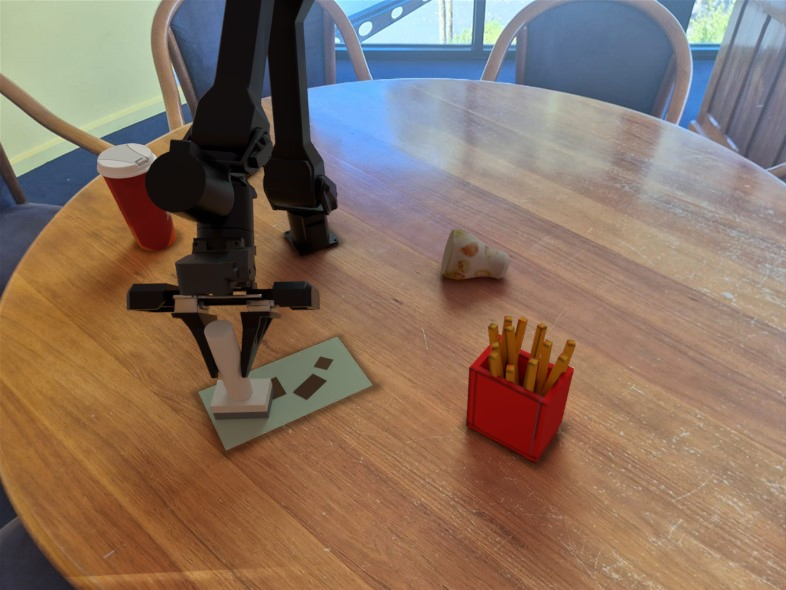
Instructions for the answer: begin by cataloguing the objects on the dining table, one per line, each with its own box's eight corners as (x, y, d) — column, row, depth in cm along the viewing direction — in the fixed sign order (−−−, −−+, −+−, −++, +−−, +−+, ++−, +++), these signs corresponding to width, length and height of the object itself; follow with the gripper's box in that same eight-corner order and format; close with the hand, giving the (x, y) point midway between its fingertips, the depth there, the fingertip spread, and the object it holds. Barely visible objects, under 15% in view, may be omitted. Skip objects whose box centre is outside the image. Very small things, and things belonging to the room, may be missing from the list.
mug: (514, 291, 89) (485, 249, 82) (455, 304, 93) (422, 265, 86) (517, 251, 93) (489, 207, 85) (459, 265, 97) (428, 224, 90)
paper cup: (195, 233, 96) (166, 149, 86) (158, 260, 91) (123, 174, 81) (156, 220, 98) (123, 136, 88) (118, 245, 93) (79, 160, 83)
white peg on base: (215, 419, 71) (183, 343, 62) (222, 392, 73) (192, 315, 64) (269, 418, 71) (244, 342, 62) (274, 391, 74) (251, 314, 65)
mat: (198, 394, 74) (197, 391, 73) (337, 338, 81) (337, 335, 81) (226, 452, 68) (225, 450, 68) (373, 387, 75) (372, 384, 75)
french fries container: (495, 390, 76) (504, 304, 66) (562, 424, 72) (582, 338, 62) (464, 429, 71) (468, 343, 61) (534, 466, 68) (550, 381, 58)
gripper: (95, 218, 58) (100, 385, 58) (298, 216, 59) (302, 380, 59) (148, 238, 69) (152, 378, 69) (318, 237, 70) (322, 374, 70)
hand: (229, 378), depth 67 cm, fingers closed on white peg on base, 3 cm apart
